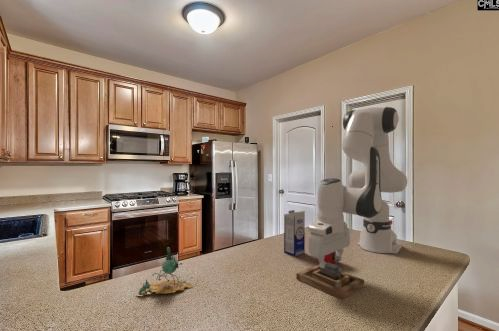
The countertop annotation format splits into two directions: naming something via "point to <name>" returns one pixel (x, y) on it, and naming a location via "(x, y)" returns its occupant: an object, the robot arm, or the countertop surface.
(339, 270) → the grey block
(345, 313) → the countertop surface
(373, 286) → the countertop surface
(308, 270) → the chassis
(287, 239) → the milk carton
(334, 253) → the canned food
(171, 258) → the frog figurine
